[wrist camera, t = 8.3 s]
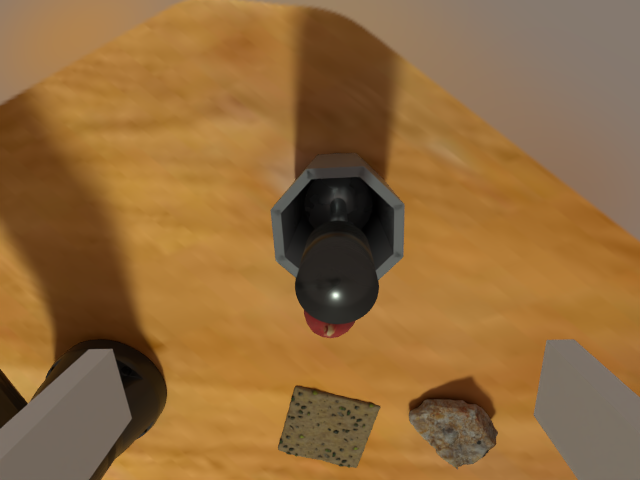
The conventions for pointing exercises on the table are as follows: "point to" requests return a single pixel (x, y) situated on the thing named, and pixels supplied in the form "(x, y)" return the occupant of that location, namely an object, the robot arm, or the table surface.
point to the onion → (327, 327)
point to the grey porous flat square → (327, 427)
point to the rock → (455, 429)
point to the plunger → (337, 252)
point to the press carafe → (379, 230)
